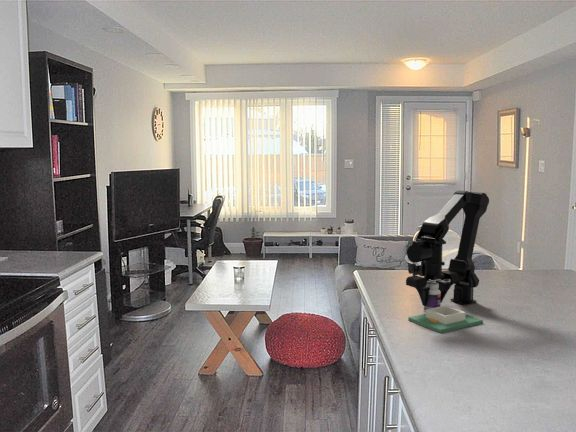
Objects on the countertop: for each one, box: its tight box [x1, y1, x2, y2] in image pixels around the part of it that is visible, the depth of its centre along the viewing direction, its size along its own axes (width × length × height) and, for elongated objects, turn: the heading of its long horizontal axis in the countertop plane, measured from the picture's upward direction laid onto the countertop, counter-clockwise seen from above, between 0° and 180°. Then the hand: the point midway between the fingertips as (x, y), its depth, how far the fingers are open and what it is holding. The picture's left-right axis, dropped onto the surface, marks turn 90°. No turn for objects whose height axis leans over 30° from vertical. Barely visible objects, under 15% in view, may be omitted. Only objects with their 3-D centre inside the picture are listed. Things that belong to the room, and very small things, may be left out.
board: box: [407, 305, 484, 334], centre depth 171 cm, size 18×14×4 cm
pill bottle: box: [423, 282, 441, 313], centre depth 181 cm, size 5×5×10 cm
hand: (432, 304), depth 182 cm, fingers open, 7 cm apart
